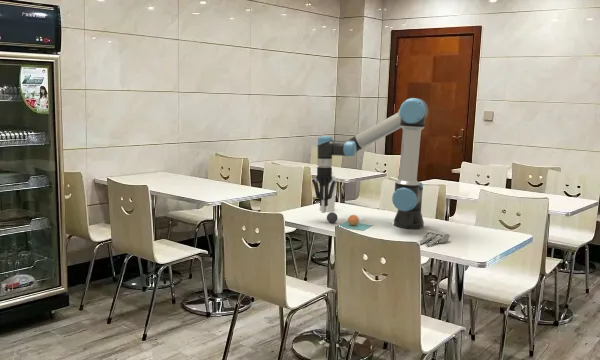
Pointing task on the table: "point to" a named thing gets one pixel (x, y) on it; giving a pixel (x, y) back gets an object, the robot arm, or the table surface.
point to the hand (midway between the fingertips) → (323, 212)
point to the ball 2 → (353, 220)
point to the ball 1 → (332, 217)
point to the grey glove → (434, 237)
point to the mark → (357, 227)
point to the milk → (331, 201)
